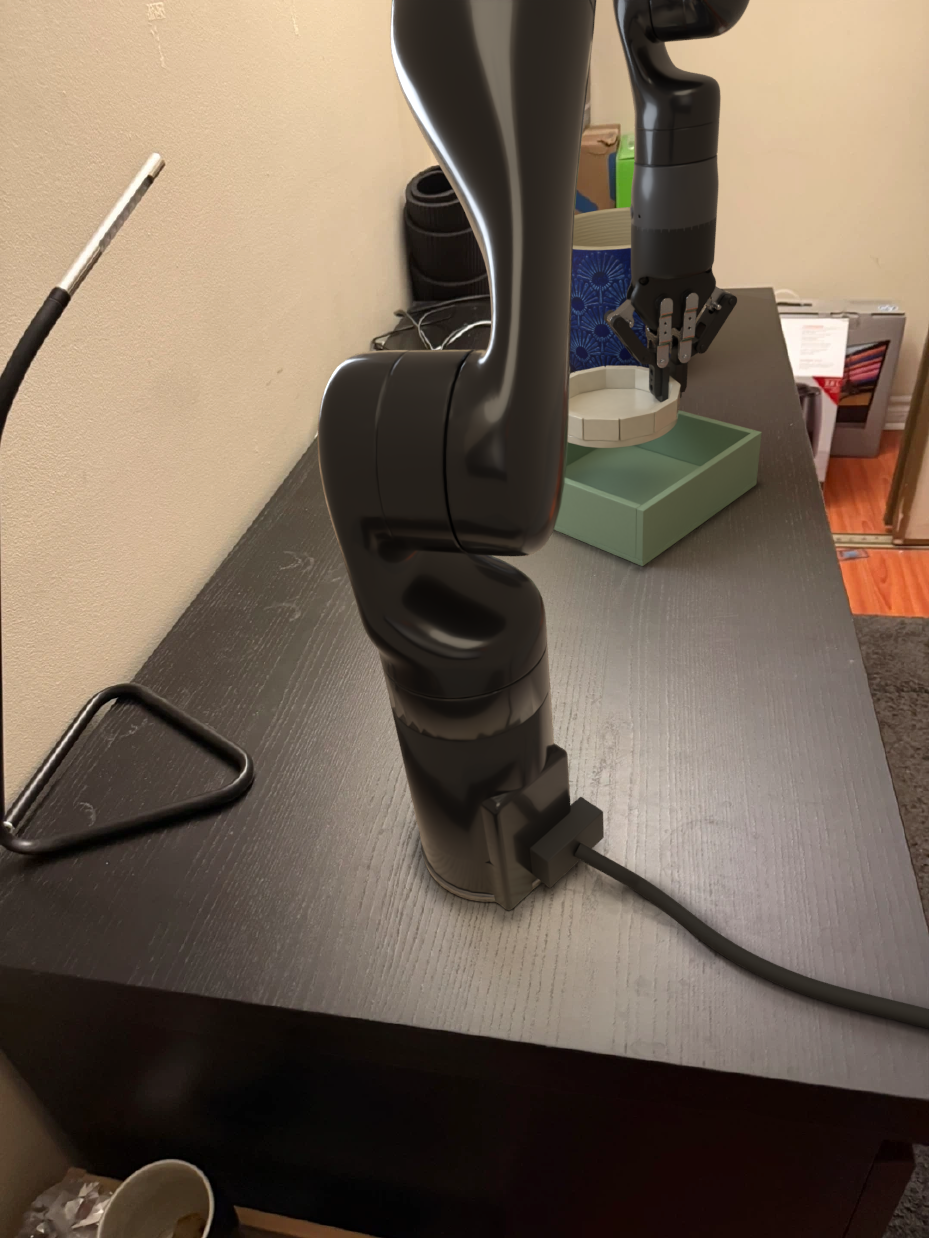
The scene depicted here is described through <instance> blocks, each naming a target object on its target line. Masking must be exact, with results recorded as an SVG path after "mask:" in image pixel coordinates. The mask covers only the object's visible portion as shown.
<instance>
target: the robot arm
mask: <svg viewBox="0 0 929 1238" xmlns="http://www.w3.org/2000/svg"><path fill="white" fill-rule="evenodd" d="M750 1H751V0H611V2H612V3H611V4H612V12H613V17H614V22H615V26H616V30H617V34H618V38H619V43H620V47H621V51H622V53H623V57H624V61H625V62H624V63H625V66H626V71H627V75H628V81H629V87H630V91H631V92H630V93H631V98H632V103H633V104H632V106H633V111H634V112H633V114H634V117H633V118H634V119H633V121H634V125H633V126H634V129H633V131H634V137H633V139H634V141H633V142H634V143H633V144H634V145H633V147H634V149H633V153H634V154H633V156H634V157H633V161H634V162H633V173H632V181H631V190H630V191H631V192H630V206H629V207H630V217H631V277H632V278H631V283H630V286H629V288H628V290H627V294H626V298H627V300H626V301H625V302H624V303H623V304H622V305H621V306H619V307H618V308H617V309H616V310H615V311H613V310H609V311H607V312H606V313H605V315H604V320H605V321H606V323H607V324H608V325H609V327H610V328H611V329H612V331H613V332H614V333H615V334H616V336H617V337H618V338H619V340H620V341H621V342H622V344H623V345H624V346H625V347H626V349H627V350H628V351H629V353H630V354H631V355H632V356H633V357H634V358H635V359H636V360H638V361H639V362H640V363H641V364H643V365H647V364H649V390H650V392H651V394H653V395H654V396H655V398H656V399H658V400H659V401H660V402H663V401H665V400H667V399H668V393H669V377H670V376H671V377H672V378H673V379H674V380H676V381H677V382H678V383H680V385H681V388H680V399H682V397H683V396H682V395H683V393H686V389H687V387H688V367H689V366H688V365H689V362H690V360H691V359H692V358H693V357H694V356H695V355H698V354H700V355H702V354H705V353H706V352H707V351H708V350H709V348H710V346H711V345H712V343H713V341H714V340H715V338H716V337H717V335H718V334H719V332H720V330H721V329H722V327H723V326H724V324H725V323H726V321H727V319H728V318H729V316H730V315H731V313H732V311H734V309H735V307H736V306H737V304H738V297H737V296H736V295H734V294H732V293H731V292H730V291H728V290H725V289H723V288H720V287H718V286H717V279H716V277H715V275H714V272H713V266H714V263H715V254H716V235H717V222H718V221H717V220H718V204H719V203H718V202H719V200H718V199H719V187H720V186H719V185H720V184H719V167H718V165H719V164H718V150H719V136H720V135H719V134H720V119H721V117H720V116H721V100H722V99H721V98H722V97H721V96H722V95H721V86H720V84H719V82H718V80H717V79H715V78H714V77H713V76H710V75H707V74H703V73H697V72H691V71H687V70H683V69H681V68H679V67H677V66H676V65H675V64H674V63H673V61H672V59H671V57H670V55H669V52H668V50H667V46H666V43H673V42H681V41H692V40H704V39H705V40H706V39H713V38H716V37H719V36H722V35H724V34H726V33H728V32H729V31H730V30H732V29H733V28H734V27H735V26H736V25H737V24H738V23H739V21H740V20H741V19H742V18H743V15H744V14H745V12H746V11H747V9H748V6H749V3H750ZM390 6H391V7H390V23H389V24H390V26H389V27H390V28H389V42H390V43H389V44H390V54H391V61H392V64H393V69H394V73H395V77H396V80H397V83H398V86H399V88H400V91H401V93H402V95H403V99H404V100H405V102H406V104H407V107H408V109H409V111H410V114H411V115H412V117H413V120H414V121H415V123H416V126H417V127H418V129H419V131H420V133H421V135H422V137H423V139H424V141H425V142H426V144H427V146H428V148H429V150H430V151H431V153H432V155H433V157H434V158H435V160H436V162H437V163H438V165H439V167H440V169H441V170H442V173H443V174H444V176H445V178H446V179H447V181H448V183H449V185H450V186H451V188H452V190H453V191H454V193H455V195H456V197H457V200H458V201H459V203H460V205H461V206H462V210H463V212H465V216H466V218H467V220H468V223H469V225H470V227H471V230H472V233H473V235H474V237H475V240H476V242H477V245H478V248H479V250H480V252H481V256H482V259H483V262H484V266H485V269H486V275H487V280H488V281H487V282H488V286H489V287H488V288H489V297H490V316H491V319H490V335H489V341H488V345H487V347H486V349H483V348H481V349H480V348H479V349H473V348H470V349H469V348H467V349H462V348H461V349H459V348H458V349H390V350H387V349H386V350H384V349H383V350H369V351H363V352H358V353H355V354H353V355H351V356H349V357H347V358H345V359H344V360H343V361H341V362H340V363H339V364H338V365H337V367H335V369H334V370H333V371H332V373H331V374H330V376H329V378H328V380H327V383H326V385H325V388H324V389H323V392H322V396H321V400H320V405H319V412H318V420H317V434H316V435H317V436H316V437H317V453H318V455H317V456H318V465H319V472H320V479H321V484H322V489H323V494H324V498H325V503H326V506H327V510H328V514H329V518H330V522H331V524H332V529H333V532H334V534H335V538H336V541H337V545H338V547H339V551H340V554H341V557H342V560H343V563H344V566H345V570H346V572H347V577H348V580H349V582H350V586H351V589H352V592H353V593H352V594H353V596H354V599H355V604H356V607H357V611H358V614H359V618H360V621H361V624H362V627H363V629H364V631H365V633H366V635H367V637H368V638H369V640H370V642H371V643H372V644H373V646H374V647H375V648H376V649H377V652H378V655H379V656H378V657H379V660H380V663H381V668H382V671H383V672H382V673H383V677H384V680H385V685H386V689H387V694H388V699H389V705H390V707H391V712H392V717H393V718H392V719H393V722H394V727H395V731H396V735H397V740H398V744H399V749H400V753H401V757H402V763H403V766H404V772H405V776H406V780H407V784H408V789H409V792H410V793H409V794H410V798H411V802H412V806H413V811H414V816H415V821H416V823H417V827H418V828H417V829H418V833H419V837H420V844H421V846H420V847H421V852H422V857H423V861H424V865H425V867H426V869H427V870H428V871H427V872H429V874H430V875H431V876H432V878H433V879H434V881H436V882H437V884H439V886H440V887H442V888H443V889H444V890H446V891H448V892H449V893H452V894H453V895H455V896H457V897H460V898H463V899H466V900H470V901H475V902H483V903H485V902H487V903H496V904H498V905H500V906H501V907H502V908H503V909H504V910H506V911H511V910H513V909H514V908H515V907H516V906H518V904H519V903H520V902H522V901H523V900H524V899H525V898H526V897H527V896H528V895H529V894H530V893H531V892H533V890H535V889H536V888H537V887H538V886H540V885H541V884H542V883H543V884H544V885H545V886H547V888H549V889H551V888H552V887H553V886H554V885H555V884H556V883H557V882H559V881H560V880H561V879H562V878H563V877H564V876H565V875H566V874H567V873H568V872H569V871H570V870H571V869H572V868H573V867H575V865H576V864H578V863H579V862H580V861H581V862H583V863H585V864H586V865H588V866H590V867H592V868H593V869H596V870H597V871H599V872H601V873H602V874H604V875H606V876H608V877H609V878H612V879H613V880H615V881H617V882H619V883H620V884H622V885H624V886H626V887H627V888H630V889H631V890H633V891H634V892H636V893H637V894H639V895H640V896H642V897H643V898H645V899H646V900H647V901H649V902H650V903H652V904H653V905H655V906H657V907H658V908H659V909H660V910H662V911H663V912H665V913H666V914H668V916H670V917H671V918H672V919H674V920H675V921H676V922H677V923H678V924H680V925H681V926H683V927H684V928H685V929H686V930H687V931H689V932H690V933H691V934H692V935H694V936H695V937H696V938H697V939H699V940H700V941H701V942H702V943H704V944H705V945H707V946H708V947H709V948H711V949H712V950H713V951H715V952H716V953H718V954H720V955H721V956H723V957H724V958H726V959H727V960H730V961H731V962H733V963H734V964H736V965H738V966H739V967H742V968H743V969H745V970H747V971H749V972H751V973H753V974H754V975H757V976H758V977H761V978H763V979H765V980H767V981H770V982H772V983H774V984H777V985H778V986H781V987H783V988H786V989H788V990H790V991H794V992H796V993H799V994H802V995H805V996H807V997H811V998H814V999H816V1000H819V1001H822V1002H825V1003H829V1004H833V1005H835V1006H839V1007H843V1008H846V1009H851V1010H854V1011H857V1012H861V1013H862V1012H863V1013H867V1014H870V1015H874V1016H877V1017H881V1018H886V1019H889V1020H894V1021H897V1022H902V1023H905V1024H910V1025H914V1026H918V1027H922V1028H925V1029H929V1008H926V1007H923V1006H919V1005H915V1004H910V1003H907V1002H902V1001H898V1000H894V999H891V998H886V997H883V996H878V995H873V994H870V993H866V992H863V991H857V990H854V989H849V988H847V987H846V988H845V987H842V986H839V985H836V984H831V983H827V982H824V981H821V980H818V979H815V978H812V977H809V976H806V975H803V974H800V973H798V972H795V971H794V970H790V969H787V968H785V967H783V966H781V965H779V964H776V963H774V962H772V961H770V960H768V959H765V958H763V957H761V956H759V955H757V954H755V953H753V952H751V951H750V950H747V949H745V948H743V947H742V946H740V945H738V944H737V943H735V942H733V941H732V940H730V939H729V938H727V937H726V936H724V935H723V934H721V933H719V932H718V931H716V930H715V929H714V928H712V927H711V926H709V925H708V924H707V923H705V922H704V921H703V920H701V919H700V918H699V917H697V916H696V915H695V914H694V913H692V912H691V911H689V910H688V909H687V908H686V907H685V906H683V905H681V903H679V902H678V901H676V900H675V899H674V898H673V897H671V896H670V895H669V894H667V893H665V892H664V891H663V890H661V888H659V887H658V886H656V885H655V884H653V883H652V882H650V881H649V880H647V879H645V878H644V877H642V876H641V875H640V874H637V873H636V872H634V871H632V870H630V869H629V868H626V867H625V866H623V865H621V864H620V863H618V862H616V861H615V860H612V859H611V858H609V857H607V856H606V855H603V854H602V853H599V851H596V850H595V849H593V848H594V847H596V846H597V844H599V843H600V842H601V841H602V840H603V839H604V838H605V833H604V831H605V830H604V829H605V828H604V811H603V810H602V809H601V808H599V807H598V806H596V805H594V804H593V803H592V802H590V801H588V800H587V799H585V797H583V796H579V797H578V798H577V799H576V800H574V801H573V803H571V788H570V787H571V786H570V771H569V770H570V769H569V755H568V751H567V750H566V749H565V748H562V747H561V746H560V745H558V744H556V743H555V735H554V734H555V733H554V719H553V706H552V705H553V704H552V691H551V674H550V673H551V672H550V659H549V658H550V657H549V644H548V627H547V616H546V615H547V614H546V607H545V603H544V600H543V596H542V594H541V591H540V590H539V588H538V586H537V585H536V584H535V582H534V581H533V580H532V578H530V577H529V576H528V575H527V574H526V573H525V572H523V570H521V569H519V568H518V567H516V566H515V565H512V564H511V563H509V562H507V561H506V560H503V559H500V558H499V557H528V556H533V555H534V554H536V553H537V552H539V551H541V550H542V549H543V548H544V547H545V546H546V544H547V543H548V542H549V541H550V538H551V536H552V534H553V532H554V531H555V530H554V528H555V525H556V522H557V519H558V515H559V511H560V508H561V503H562V497H563V491H564V485H565V475H566V465H567V447H568V423H569V389H570V374H571V369H570V344H571V301H572V263H573V236H574V217H575V215H576V201H577V188H578V179H579V169H580V159H581V150H582V149H581V148H582V139H583V129H584V120H585V112H586V111H585V110H586V103H587V93H588V84H589V75H590V68H591V59H592V50H593V43H594V42H593V41H594V33H595V23H596V12H597V11H596V10H597V9H596V8H597V0H391V5H390ZM704 307H705V308H704ZM703 309H704V310H703ZM634 311H635V312H636V314H637V315H638V316H639V317H640V319H641V320H642V321H643V323H644V324H645V333H646V337H647V348H646V347H645V346H644V345H643V343H642V342H641V341H640V339H639V338H638V337H637V335H636V334H635V333H634V331H633V330H632V329H631V328H632V327H633V326H634V318H633V312H634ZM701 312H702V313H701ZM700 314H701V315H700ZM699 315H700V316H699ZM698 317H699V318H698ZM697 318H698V320H697ZM669 344H670V346H669ZM669 353H670V354H671V358H669Z"/></svg>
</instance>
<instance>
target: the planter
mask: <svg viewBox="0 0 929 1238" xmlns="http://www.w3.org/2000/svg"><path fill="white" fill-rule="evenodd" d="M631 278H632V277H631V217H630V206H626V207H615V208H606V209H597V210H594V211H587V212H583V213H579V214H578V213H577V214H575V217H574V236H573V263H572V301H571V344H570V371H571V372H572V373H573V372H574V373H575V372H577V371H581V370H586V369H591V368H596V367H601V366H605V367H606V366H637V367H638V366H641V367H645V368H649V364H647V365H643V364H641V363H640V362H639V361H638V360H636V359H635V358H634V357H633V356H632V355H631V354H630V353H629V351H628V350H627V349H626V347H625V346H624V345H623V344H622V342H621V341H620V340H619V338H618V337H617V336H616V334H615V333H614V332H613V331H612V329H611V328H610V327H609V325H608V324H607V323H606V321H605V320H604V315H605V313H606V312H607V311H609V310H613V311H615V310H616V309H617V308H618V307H619V306H621V305H622V304H623V303H624V302H625V301H626V300H627V298H626V294H627V290H628V288H629V286H630V283H631ZM633 318H634V326H633V327H632V328H631V329H632V330H633V331H634V333H635V334H636V335H637V337H638V338H639V339H640V341H641V342H642V343H643V345H644V346H645V347H646V348H647V337H646V333H645V324H644V323H643V321H642V320H641V319H640V317H639V316H638V315H637V314H636V312H635V311H634V312H633ZM669 346H670V344H669ZM669 358H671V354H670V353H669Z"/></svg>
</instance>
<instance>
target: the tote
mask: <svg viewBox="0 0 929 1238" xmlns="http://www.w3.org/2000/svg"><path fill="white" fill-rule="evenodd" d="M762 433H763V432H762V431H760V430H756V429H752V428H748V427H744V426H740V425H737V424H734V423H729V422H725V421H721V420H719V419H714V418H710V417H706V416H702V415H699V414H695V413H692V412H687V411H684V410H680V409H679V411H678V420H677V423H676V425H675V426H674V427H673V428H672V429H671V430H670V431H669V432H668V433H666V434H665V435H663V436H661V437H659V438H657V439H654V440H652V441H649V442H646V443H642V444H638V445H633V446H627V447H618V448H594V447H586V446H580V445H576V444H572V443H569V442H568V447H567V465H566V475H565V485H564V491H563V497H562V503H561V508H560V511H559V515H558V519H557V522H556V525H555V528H554V530H553V531H556V532H558V533H561V534H564V535H565V536H568V537H571V538H573V539H575V540H577V541H581V542H583V543H585V544H587V545H590V546H592V547H595V548H597V549H600V550H602V551H605V552H607V553H609V554H611V555H614V556H616V557H619V558H622V559H623V560H625V561H628V562H631V563H633V564H635V565H638V566H639V567H640V566H641V567H644V566H645V565H647V564H648V563H650V562H651V561H652V560H654V559H655V558H657V557H658V556H660V555H661V554H662V553H664V552H665V551H666V550H667V549H669V548H671V547H672V546H673V545H675V544H676V543H678V542H679V541H680V540H681V539H683V538H684V537H685V536H687V535H688V534H690V533H691V532H693V531H694V530H695V529H697V528H698V527H700V526H701V525H703V524H704V523H706V522H707V521H708V520H709V519H711V518H712V517H714V516H715V515H716V514H718V513H719V512H720V511H722V510H723V509H724V508H726V507H727V506H729V505H730V504H731V503H733V502H734V501H736V500H738V498H740V497H742V496H743V495H745V493H747V492H748V491H750V490H751V489H752V488H754V487H755V486H756V485H757V481H758V472H759V471H758V470H759V461H760V454H761V453H760V452H761V444H762V435H763V434H762Z"/></svg>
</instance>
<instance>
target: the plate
mask: <svg viewBox="0 0 929 1238" xmlns="http://www.w3.org/2000/svg"><path fill="white" fill-rule="evenodd" d="M680 388H681V385H680V383H678V382H677V381H676V380H674V379H673V378H672V377H671V376H670V377H669V393H668V399H667V400H665V401H663V402H660V401H659V400H658V399H656V398H655V396H654V395H653V394H651V392H650V390H649V368H645V367H641V366H638V367H637V366H606V367H605V366H601V367H596V368H591V369H586V370H581V371H577V372H575V373H574V372H573V371H572V372H570V389H569V423H568V442H569V443H572V444H576V445H580V446H586V447H594V448H618V447H627V446H633V445H638V444H642V443H646V442H649V441H652V440H654V439H657V438H659V437H661V436H663V435H665V434H666V433H668V432H669V431H670V430H671V429H672V428H673V427H674V426H675V425H676V423H677V420H678V411H679V410H680V406H681V398H680Z"/></svg>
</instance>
